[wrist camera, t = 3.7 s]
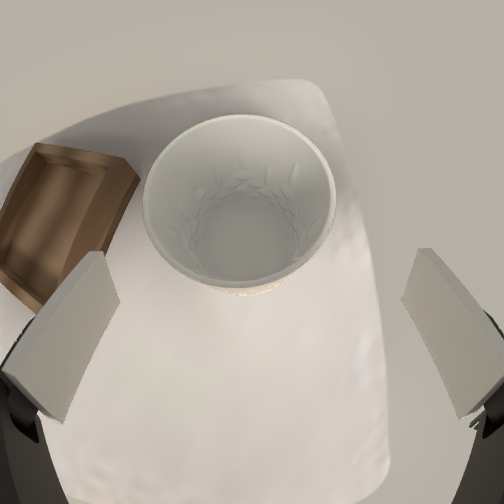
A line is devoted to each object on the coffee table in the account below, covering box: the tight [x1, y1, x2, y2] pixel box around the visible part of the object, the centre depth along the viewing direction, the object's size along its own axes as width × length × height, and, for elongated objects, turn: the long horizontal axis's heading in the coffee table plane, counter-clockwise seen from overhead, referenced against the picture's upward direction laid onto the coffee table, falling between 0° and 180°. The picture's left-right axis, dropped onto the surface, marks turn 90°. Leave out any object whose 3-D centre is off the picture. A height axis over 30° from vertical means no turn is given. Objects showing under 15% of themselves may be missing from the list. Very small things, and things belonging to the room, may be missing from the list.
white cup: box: [142, 114, 336, 296], centre depth 15 cm, size 8×8×10 cm
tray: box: [0, 143, 141, 315], centre depth 19 cm, size 14×14×4 cm
